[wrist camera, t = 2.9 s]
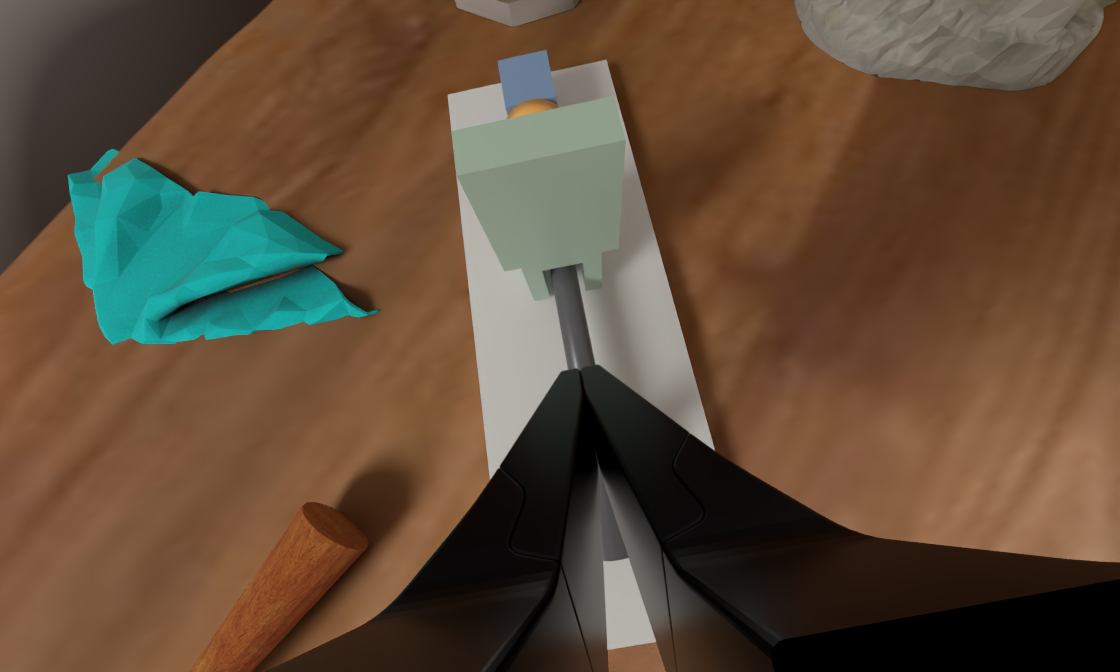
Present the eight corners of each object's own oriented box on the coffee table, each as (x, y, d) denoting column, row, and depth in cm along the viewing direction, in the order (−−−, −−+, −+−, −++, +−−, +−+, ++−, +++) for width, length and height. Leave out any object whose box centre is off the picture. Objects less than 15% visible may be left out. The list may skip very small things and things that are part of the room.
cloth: (15, 235, 28) (-34, 216, 26) (171, 99, 31) (139, 71, 29) (244, 481, 22) (204, 482, 19) (420, 280, 24) (402, 262, 22)
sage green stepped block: (616, 285, 21) (625, 140, 12) (520, 304, 21) (456, 175, 12) (600, 216, 22) (597, 36, 13) (510, 234, 22) (444, 70, 13)
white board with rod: (754, 616, 17) (806, 666, 13) (515, 654, 18) (486, 715, 13) (606, 74, 27) (606, -4, 22) (453, 108, 27) (423, 38, 23)
